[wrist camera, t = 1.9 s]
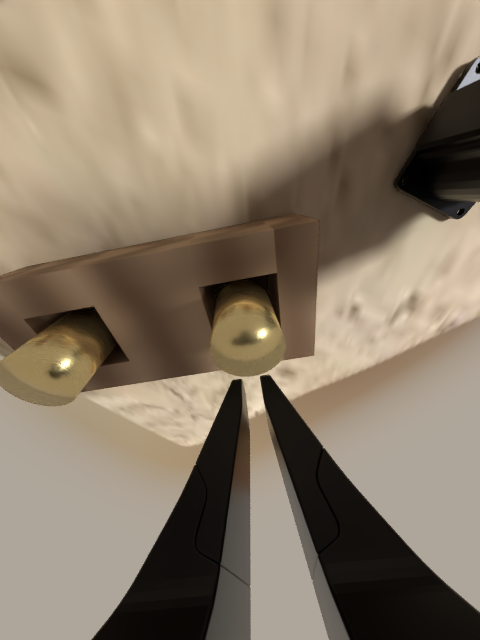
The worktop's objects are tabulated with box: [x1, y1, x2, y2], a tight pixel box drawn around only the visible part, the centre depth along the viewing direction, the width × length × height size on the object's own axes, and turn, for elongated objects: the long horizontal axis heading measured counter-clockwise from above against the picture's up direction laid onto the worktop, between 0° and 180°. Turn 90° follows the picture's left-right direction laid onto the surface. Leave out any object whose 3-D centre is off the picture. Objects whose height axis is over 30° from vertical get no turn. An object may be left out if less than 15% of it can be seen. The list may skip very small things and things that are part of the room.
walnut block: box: [0, 214, 319, 392], centre depth 16 cm, size 22×10×5 cm, turn 100°
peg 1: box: [0, 310, 117, 406], centre depth 13 cm, size 4×4×5 cm
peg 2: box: [210, 280, 286, 376], centre depth 12 cm, size 4×4×5 cm
